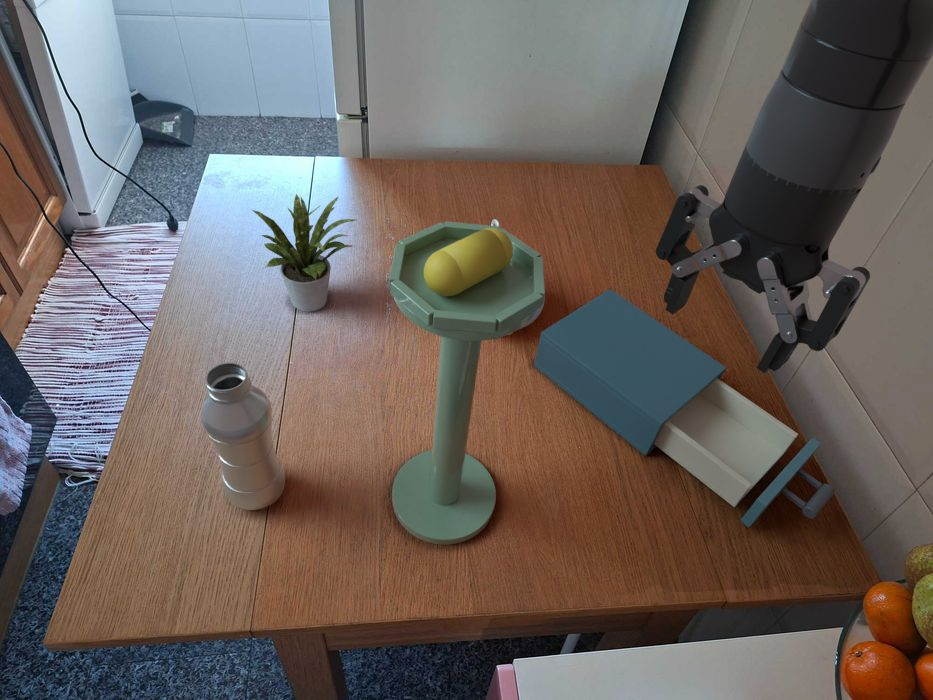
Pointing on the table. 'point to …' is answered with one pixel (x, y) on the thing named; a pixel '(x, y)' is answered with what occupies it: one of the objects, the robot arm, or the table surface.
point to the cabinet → (624, 367)
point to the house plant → (304, 255)
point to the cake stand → (456, 378)
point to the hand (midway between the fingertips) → (718, 336)
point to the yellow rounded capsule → (468, 261)
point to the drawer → (738, 450)
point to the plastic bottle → (242, 437)
